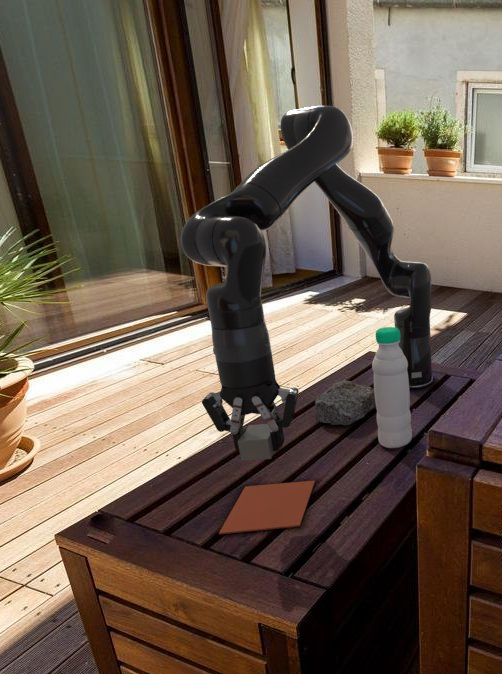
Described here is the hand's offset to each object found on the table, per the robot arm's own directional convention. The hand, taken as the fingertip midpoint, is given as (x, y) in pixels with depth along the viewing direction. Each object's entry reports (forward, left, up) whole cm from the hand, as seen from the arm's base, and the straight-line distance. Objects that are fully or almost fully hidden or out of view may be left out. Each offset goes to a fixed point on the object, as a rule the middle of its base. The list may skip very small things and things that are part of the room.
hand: (260, 449), depth 77 cm
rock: (-33, +8, -11) cm, 36 cm away
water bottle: (-18, +20, -11) cm, 29 cm away
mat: (0, 0, -11) cm, 11 cm away
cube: (0, 0, 0) cm, 0 cm away
